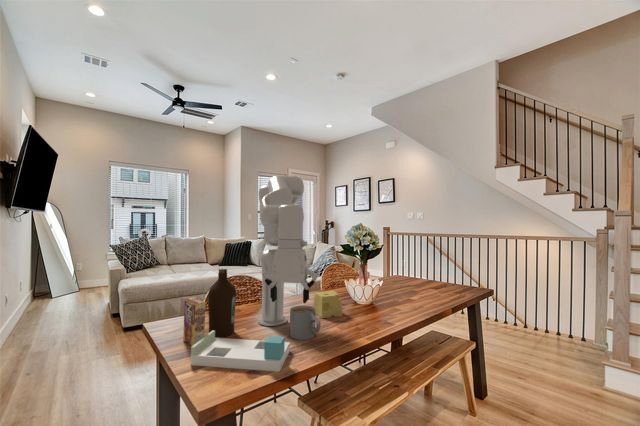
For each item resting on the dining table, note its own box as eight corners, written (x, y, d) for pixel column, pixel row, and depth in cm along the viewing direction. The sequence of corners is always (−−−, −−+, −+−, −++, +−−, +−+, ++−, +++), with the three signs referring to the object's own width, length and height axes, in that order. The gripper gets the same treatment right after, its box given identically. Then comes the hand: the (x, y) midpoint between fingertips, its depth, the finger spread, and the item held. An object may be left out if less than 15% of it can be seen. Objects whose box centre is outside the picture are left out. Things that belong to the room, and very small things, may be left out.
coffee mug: (284, 334, 118) (285, 308, 118) (304, 328, 125) (305, 304, 125) (305, 345, 108) (306, 317, 108) (326, 338, 115) (326, 311, 115)
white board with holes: (212, 346, 106) (212, 330, 106) (289, 351, 103) (289, 335, 103) (190, 365, 92) (190, 347, 92) (279, 371, 89) (279, 353, 89)
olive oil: (205, 339, 112) (207, 272, 112) (208, 329, 122) (210, 267, 123) (235, 337, 114) (236, 271, 115) (235, 327, 125) (237, 267, 125)
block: (269, 351, 96) (269, 335, 96) (284, 352, 95) (284, 336, 95) (264, 358, 91) (264, 342, 91) (280, 360, 90) (280, 343, 90)
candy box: (205, 344, 108) (206, 301, 108) (193, 347, 104) (194, 303, 105) (194, 337, 114) (195, 296, 114) (182, 340, 111) (183, 299, 111)
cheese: (342, 316, 141) (342, 295, 141) (320, 319, 137) (321, 297, 137) (333, 310, 150) (333, 290, 150) (313, 312, 146) (313, 291, 146)
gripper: (320, 244, 94) (319, 299, 94) (267, 243, 97) (266, 297, 96) (316, 246, 87) (315, 306, 86) (259, 245, 89) (258, 303, 89)
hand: (289, 301), depth 91 cm, fingers open, 9 cm apart
